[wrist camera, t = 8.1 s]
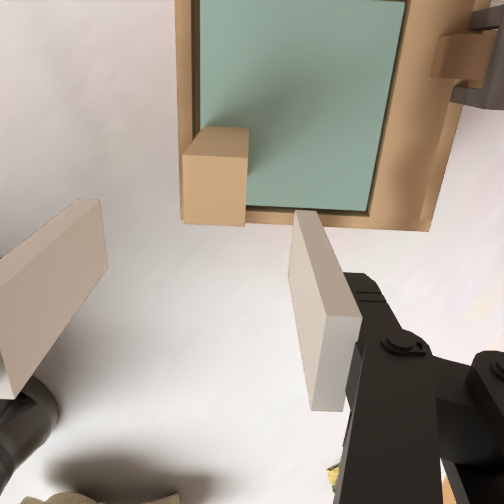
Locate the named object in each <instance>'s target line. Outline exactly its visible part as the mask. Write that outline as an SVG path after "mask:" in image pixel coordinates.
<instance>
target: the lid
mask: <svg viewBox="0 0 504 504" xmlns="http://www.w3.org/2000/svg"><path fill="white" fill-rule="evenodd" d="M404 7H405V2H395V1H379V0H200V132H199V134H198V135H197V136H196V137H195V139H194V140H193V141H192V143H191V144H190V145H189V147H188V148H187V149H186V150H185V152H184V153H183V154H182V164H183V206H184V224H203V225H223V226H244V227H245V209H246V205H258V206H278V207H298V208H317V209H337V210H357V211H366V207H367V202H368V197H369V191H370V186H371V181H372V176H373V170H374V165H375V160H376V155H377V149H378V144H379V139H380V133H381V128H382V123H383V118H384V112H385V107H386V102H387V96H388V91H389V86H390V81H391V75H392V70H393V65H394V59H395V54H396V49H397V44H398V38H399V33H400V28H401V23H402V17H403V12H404Z"/></svg>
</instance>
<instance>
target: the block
mask: <svg viewBox="0 0 504 504" xmlns="http://www.w3.org/2000/svg"><path fill="white" fill-rule="evenodd" d="M496 36H497V35H481V34H465V33H462V34H455V35H448V36H441V37H439V39H438V43H437V48H436V52H435V56H434V61H433V65H432V69H431V74H430V77H436V78H450V79H467V80H484V78H485V75H486V71H487V68H488V64H489V61H490V57H491V54H492V50H493V47H494V43H495V39H496Z"/></svg>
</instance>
